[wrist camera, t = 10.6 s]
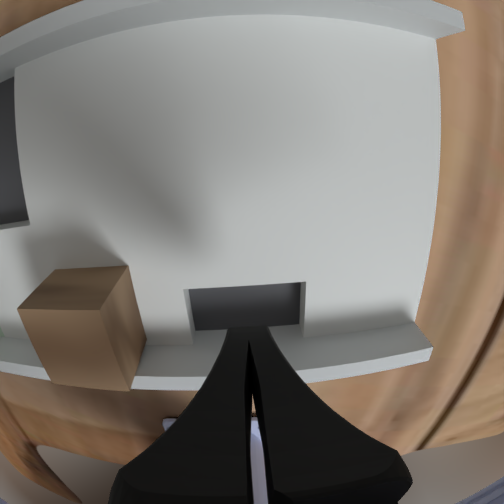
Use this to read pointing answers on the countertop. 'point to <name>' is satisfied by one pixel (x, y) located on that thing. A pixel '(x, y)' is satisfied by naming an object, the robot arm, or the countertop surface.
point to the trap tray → (228, 174)
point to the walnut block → (86, 327)
